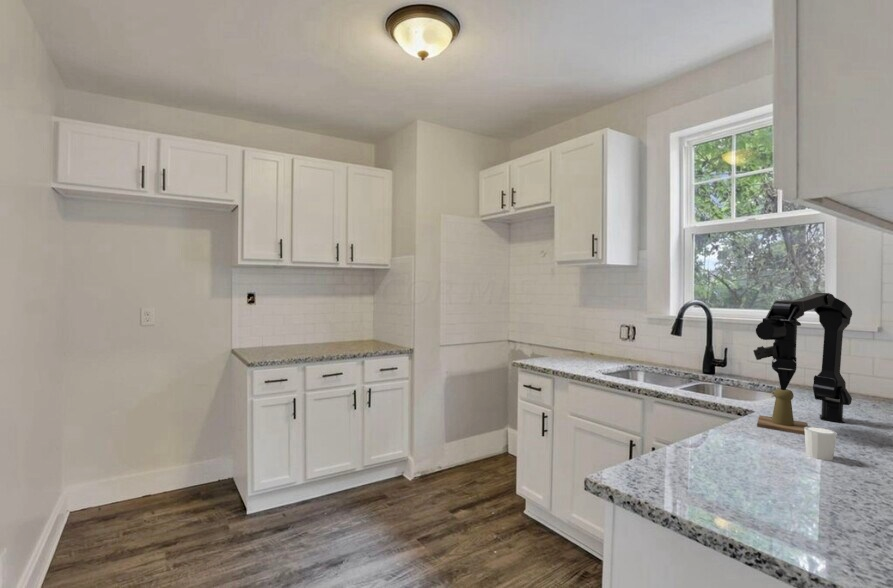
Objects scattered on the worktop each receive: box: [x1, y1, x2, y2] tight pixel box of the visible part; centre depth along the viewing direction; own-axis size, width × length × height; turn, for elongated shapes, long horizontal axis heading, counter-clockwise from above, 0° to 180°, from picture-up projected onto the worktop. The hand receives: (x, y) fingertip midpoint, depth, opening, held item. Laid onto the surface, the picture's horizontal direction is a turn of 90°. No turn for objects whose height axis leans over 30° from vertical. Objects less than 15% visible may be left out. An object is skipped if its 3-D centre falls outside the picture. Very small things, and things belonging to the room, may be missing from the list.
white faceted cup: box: [804, 426, 838, 461], centre depth 124 cm, size 7×7×7 cm
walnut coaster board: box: [756, 415, 809, 436], centre depth 152 cm, size 13×13×1 cm
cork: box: [771, 387, 795, 426], centre depth 152 cm, size 6×6×11 cm
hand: (783, 387), depth 152 cm, fingers open, 9 cm apart
